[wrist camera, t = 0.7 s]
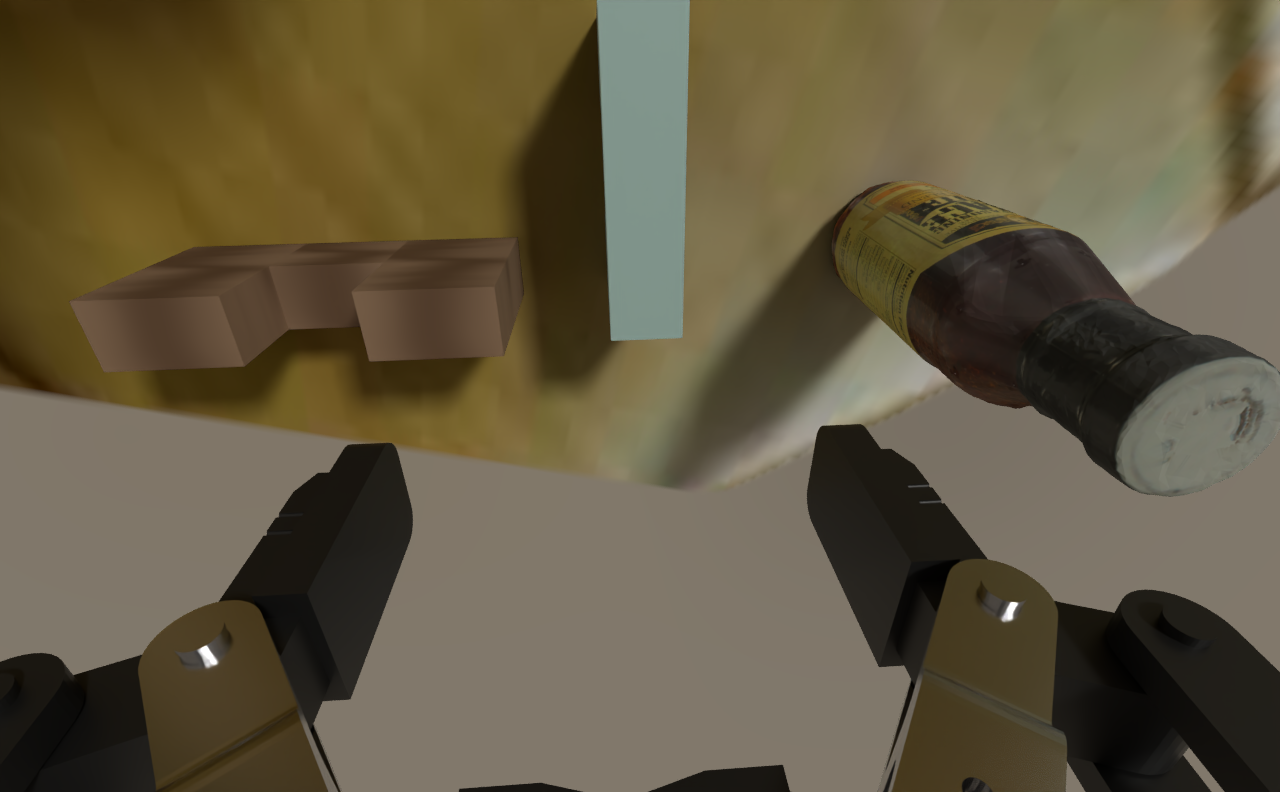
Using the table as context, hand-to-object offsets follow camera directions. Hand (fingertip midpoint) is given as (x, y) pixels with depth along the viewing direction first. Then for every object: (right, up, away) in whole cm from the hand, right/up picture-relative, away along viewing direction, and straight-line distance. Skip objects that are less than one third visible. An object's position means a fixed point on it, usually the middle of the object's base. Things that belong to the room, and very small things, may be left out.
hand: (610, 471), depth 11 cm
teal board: (0, +13, +18) cm, 22 cm away
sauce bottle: (+13, +10, +20) cm, 26 cm away
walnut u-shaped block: (-14, +8, +19) cm, 25 cm away
